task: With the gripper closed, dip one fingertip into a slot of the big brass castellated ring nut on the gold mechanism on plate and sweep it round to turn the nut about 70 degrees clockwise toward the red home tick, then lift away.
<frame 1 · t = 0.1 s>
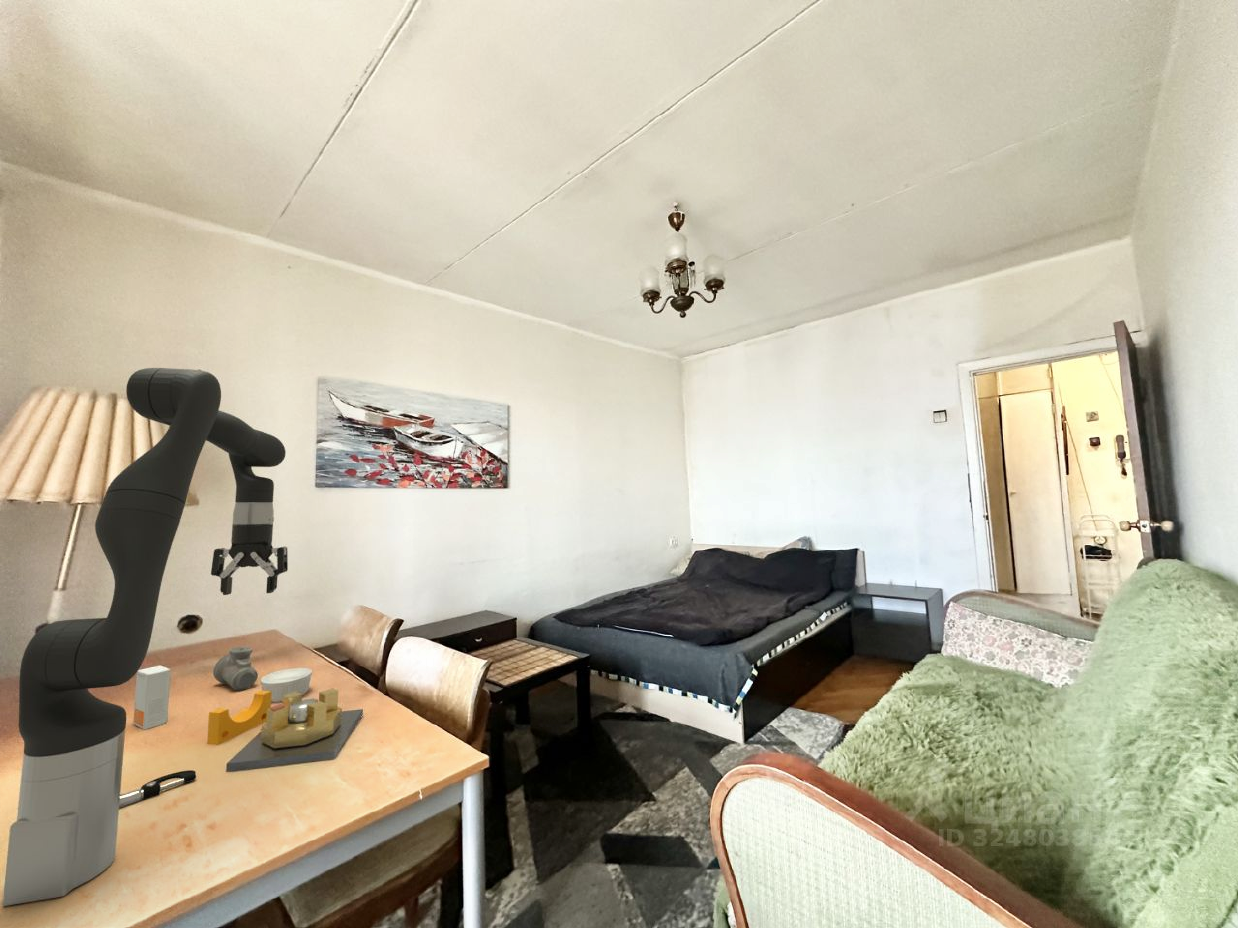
hand: (248, 593, 110), 29 cm above the table, fingers open, 8 cm apart
ring nut: (303, 714, 101), point 5 cm above the table, hinge at 0.0°
ramekin: (285, 696, 125), on the table
pipe clamp: (236, 732, 105), on the table
pipe fitting: (237, 687, 132), on the table
skincare box: (150, 724, 109), on the table
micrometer: (137, 797, 82), on the table
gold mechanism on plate: (302, 740, 101), on the table
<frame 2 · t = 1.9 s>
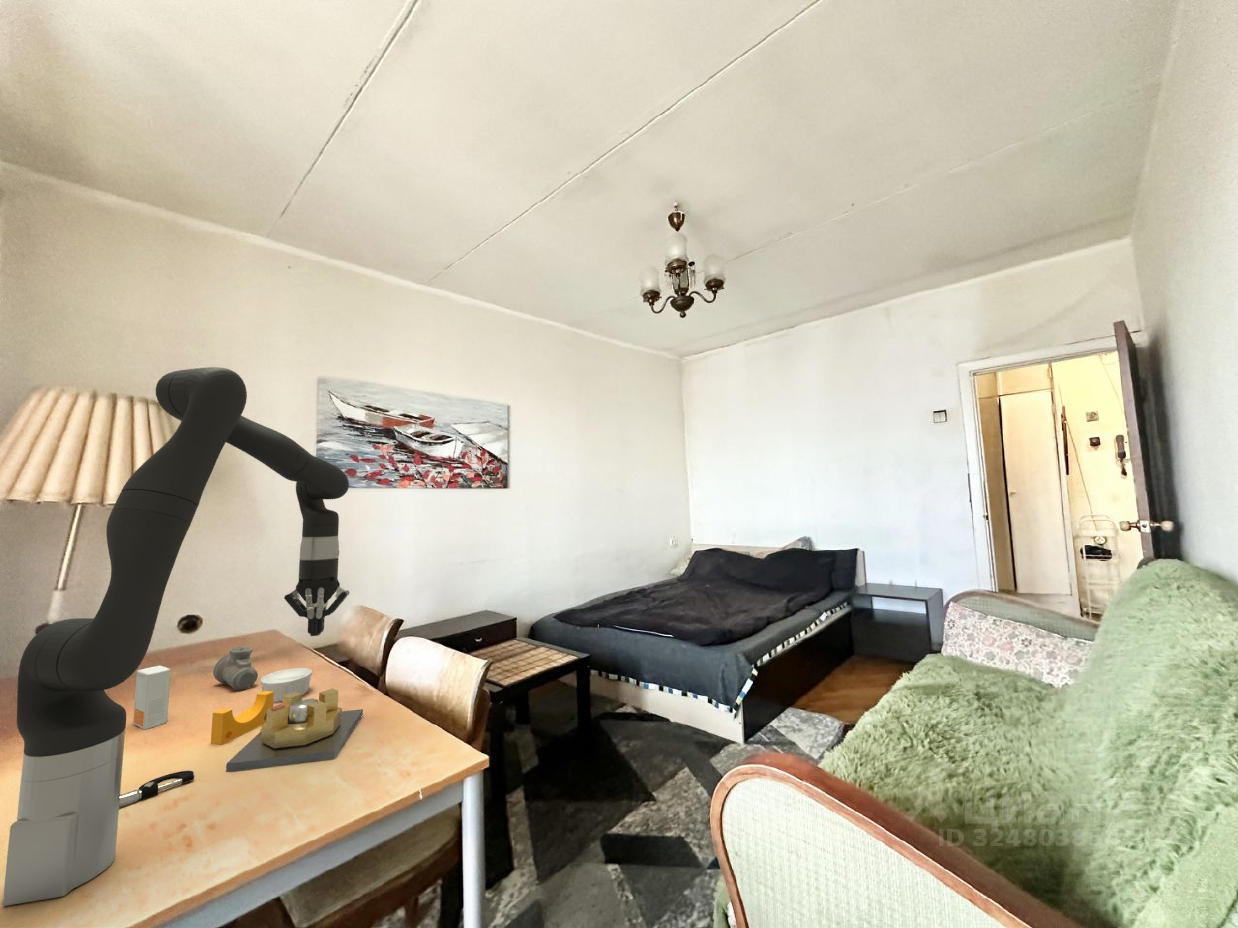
hand: (315, 635, 107), 20 cm above the table, fingers closed
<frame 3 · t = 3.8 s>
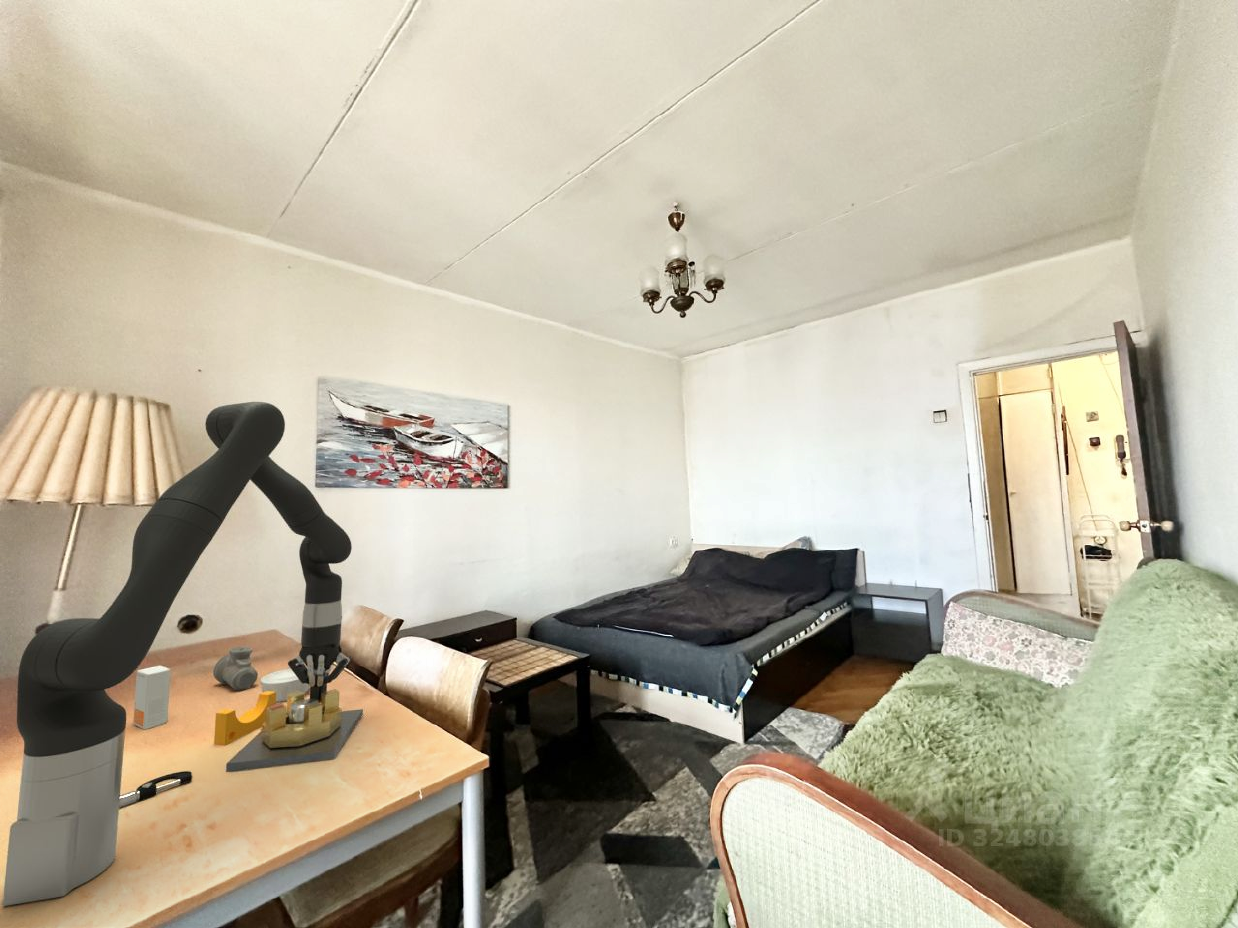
hand: (317, 701, 106), 6 cm above the table, fingers closed
ring nut: (303, 714, 101), point 5 cm above the table, hinge at -8.2°, touching gripper
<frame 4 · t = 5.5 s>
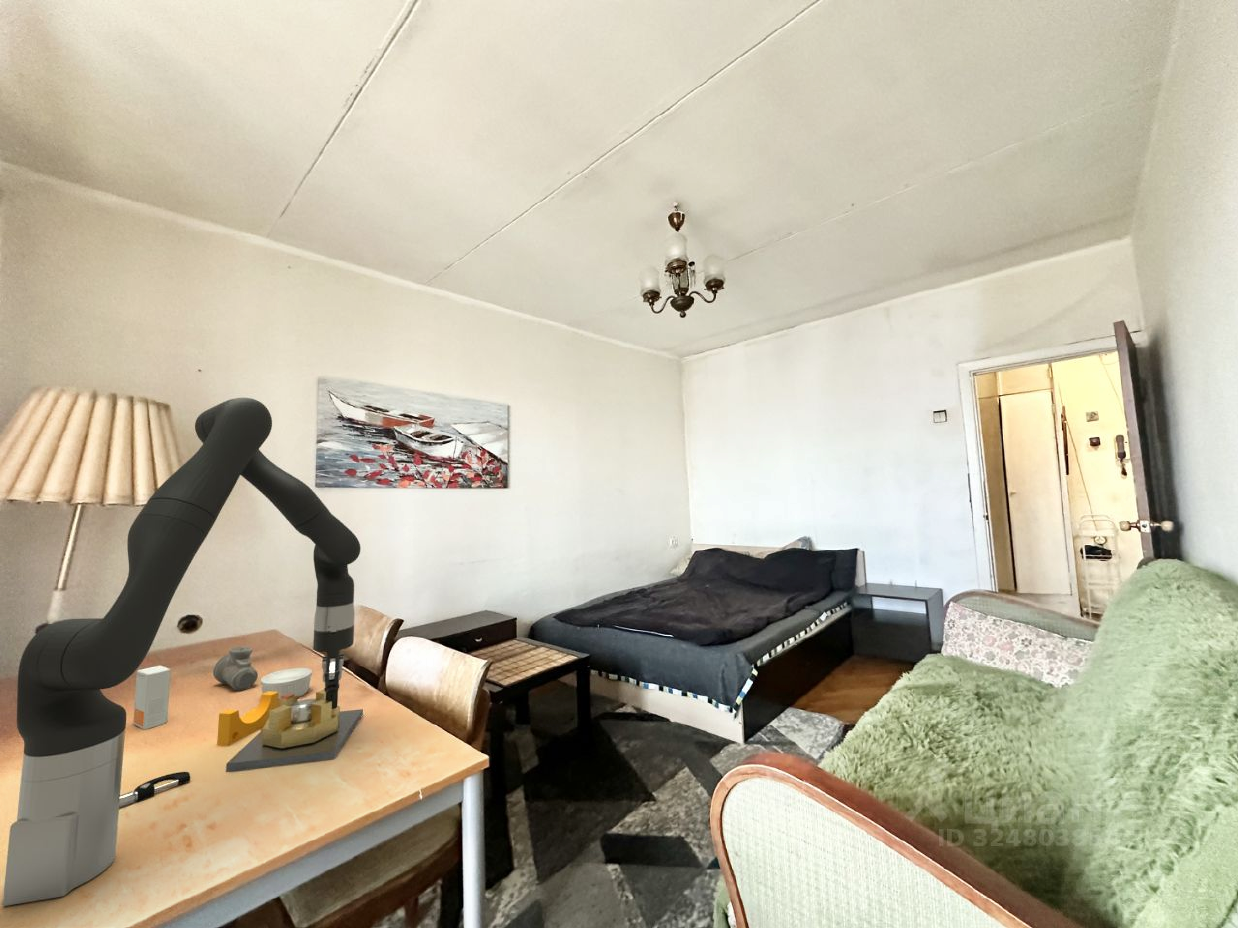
hand: (331, 707, 103), 6 cm above the table, fingers closed
ring nut: (303, 714, 101), point 5 cm above the table, hinge at -78.6°, touching gripper
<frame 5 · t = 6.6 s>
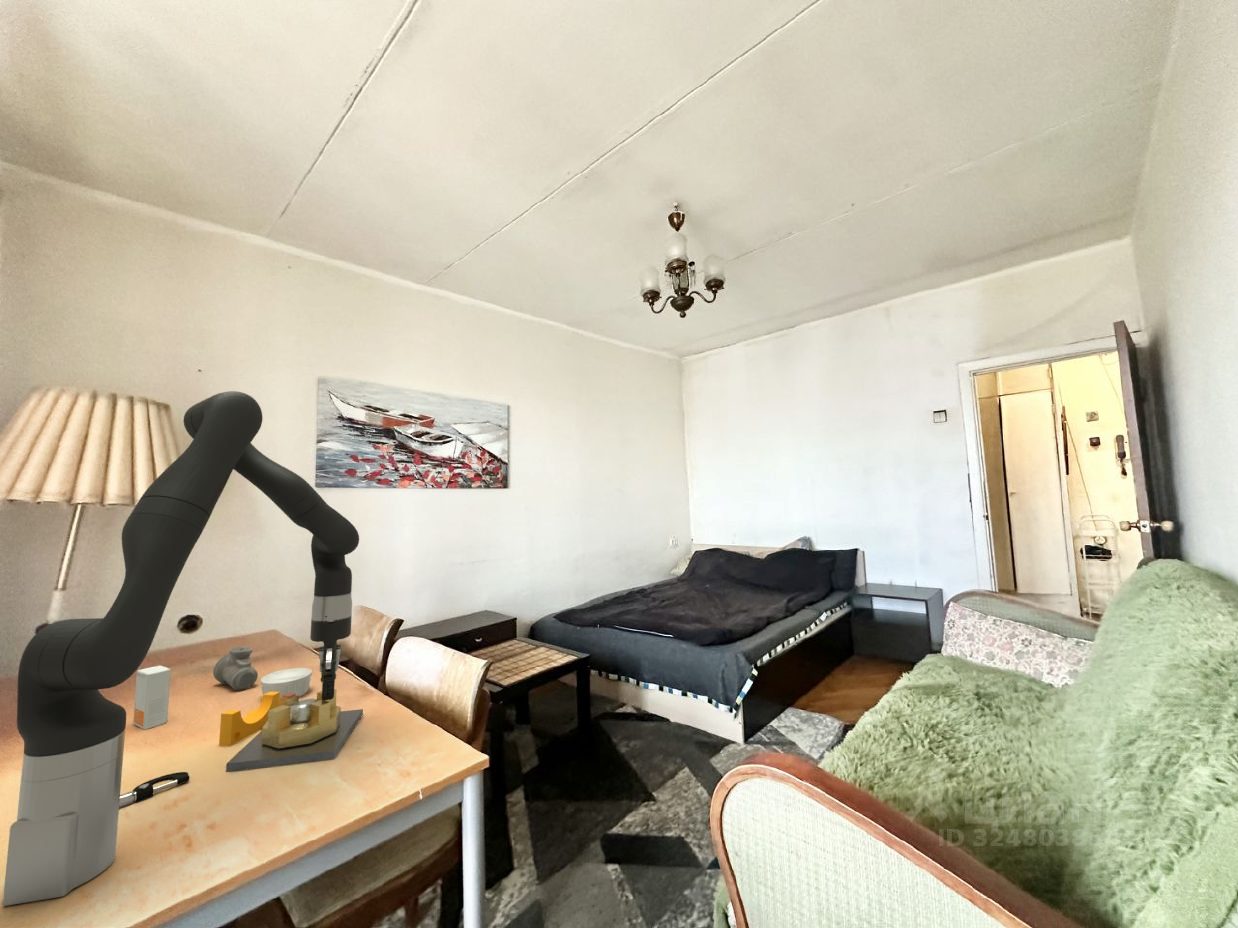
hand: (327, 698, 102), 8 cm above the table, fingers closed
ring nut: (303, 714, 101), point 5 cm above the table, hinge at -82.2°
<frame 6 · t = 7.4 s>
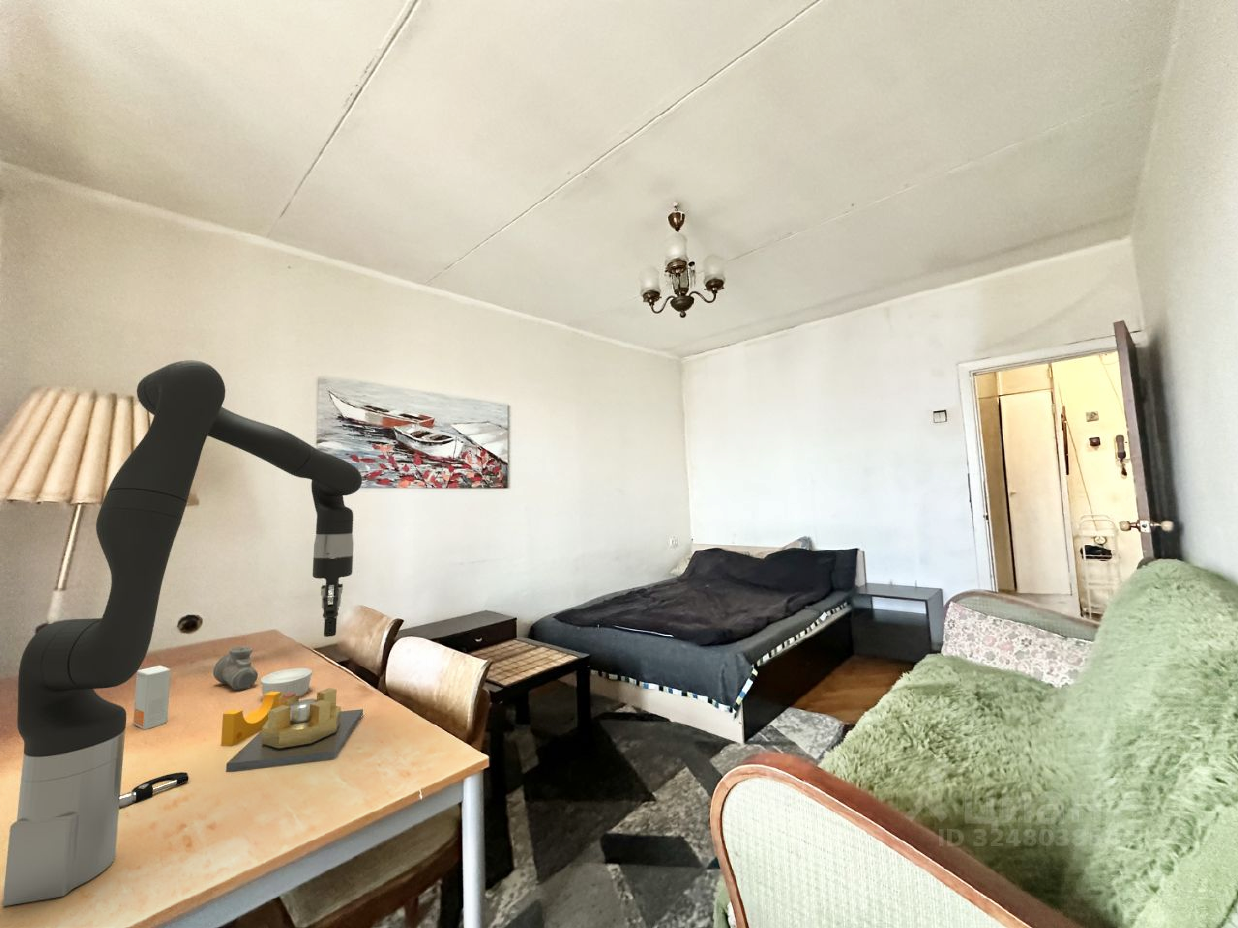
hand: (330, 635, 104), 21 cm above the table, fingers closed
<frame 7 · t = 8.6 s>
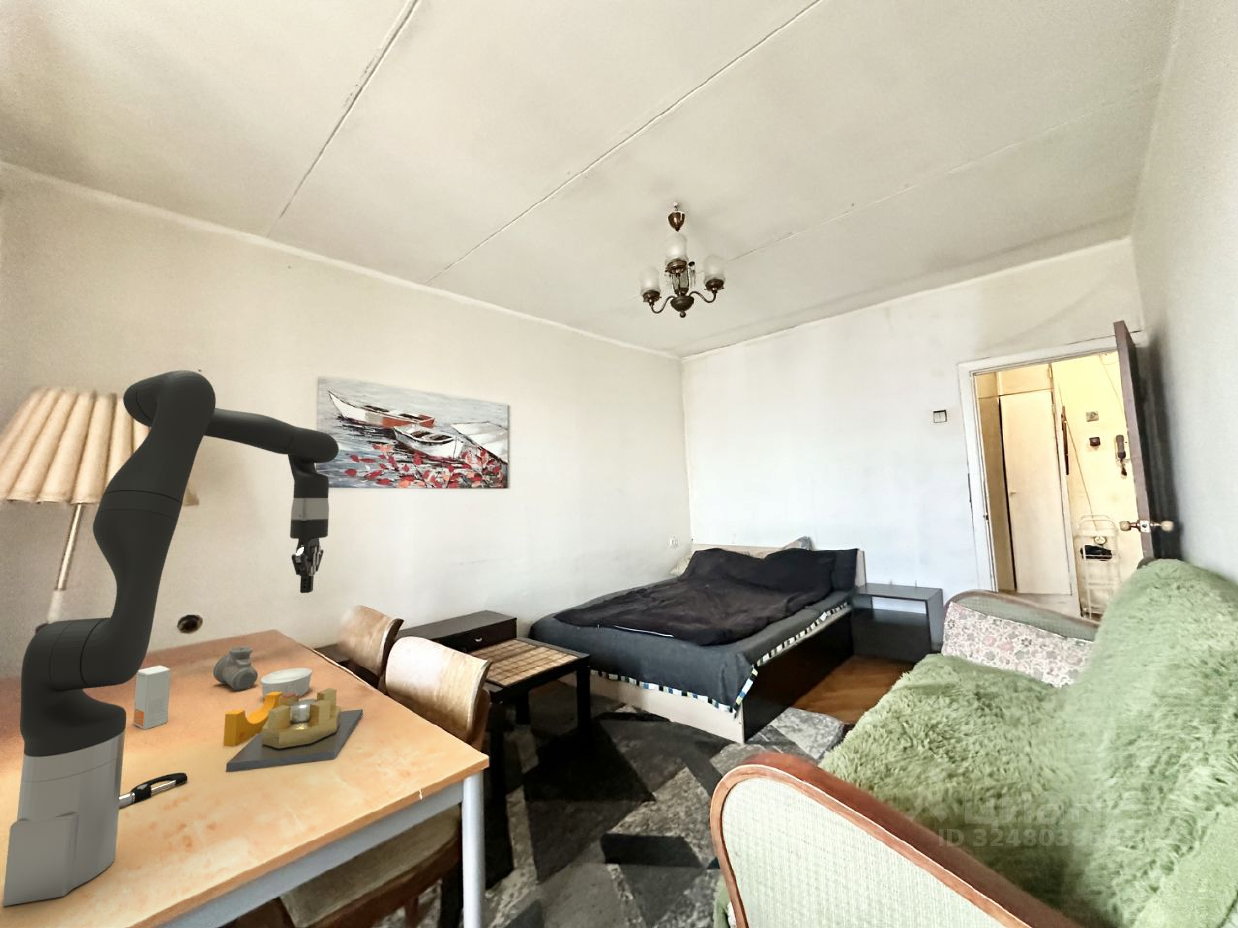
hand: (306, 592, 112), 29 cm above the table, fingers closed
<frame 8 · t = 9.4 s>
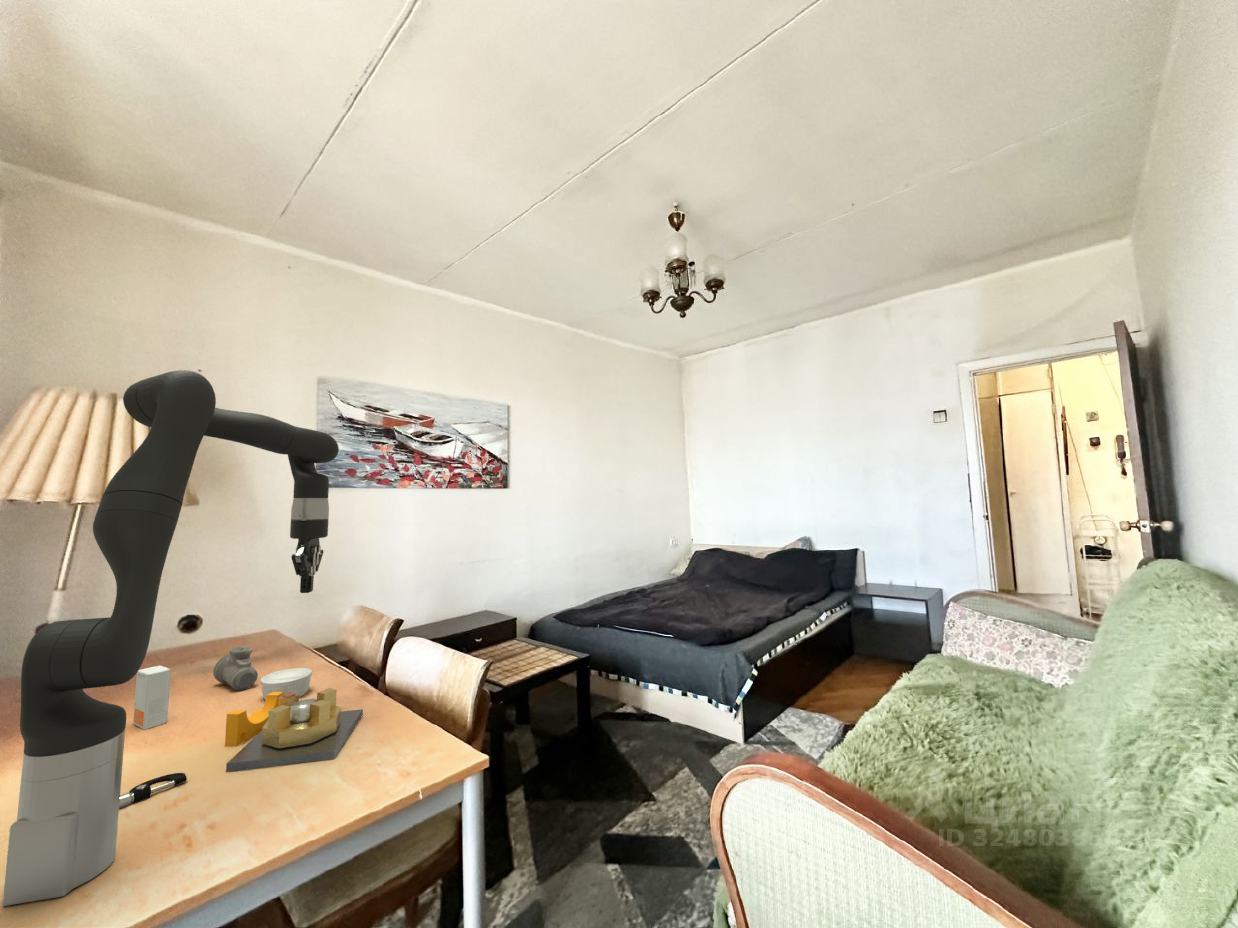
hand: (306, 592, 112), 29 cm above the table, fingers closed
at the end: ring nut at -82° (first picture: +0°) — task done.
